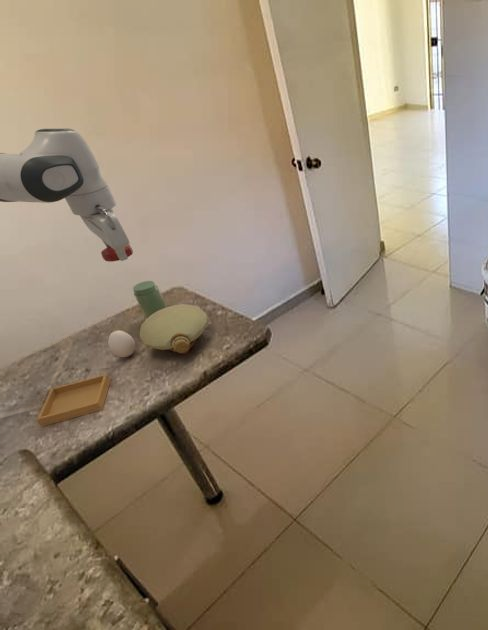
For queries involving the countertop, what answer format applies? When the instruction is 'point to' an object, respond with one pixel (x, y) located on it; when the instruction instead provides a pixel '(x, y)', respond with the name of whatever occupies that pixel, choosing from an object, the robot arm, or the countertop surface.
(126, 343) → the egg
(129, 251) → the lid
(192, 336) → the flask
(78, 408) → the tray
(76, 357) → the countertop surface
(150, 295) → the jar
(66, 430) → the countertop surface
